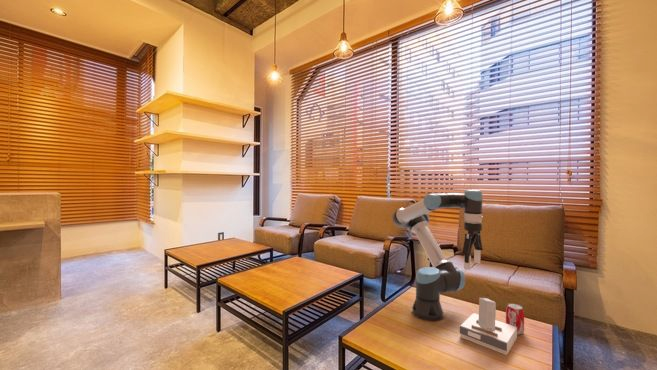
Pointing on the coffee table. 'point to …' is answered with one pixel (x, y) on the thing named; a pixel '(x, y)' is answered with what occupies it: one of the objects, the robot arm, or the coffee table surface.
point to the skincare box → (487, 314)
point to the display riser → (489, 334)
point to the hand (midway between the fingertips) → (472, 266)
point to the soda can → (515, 317)
